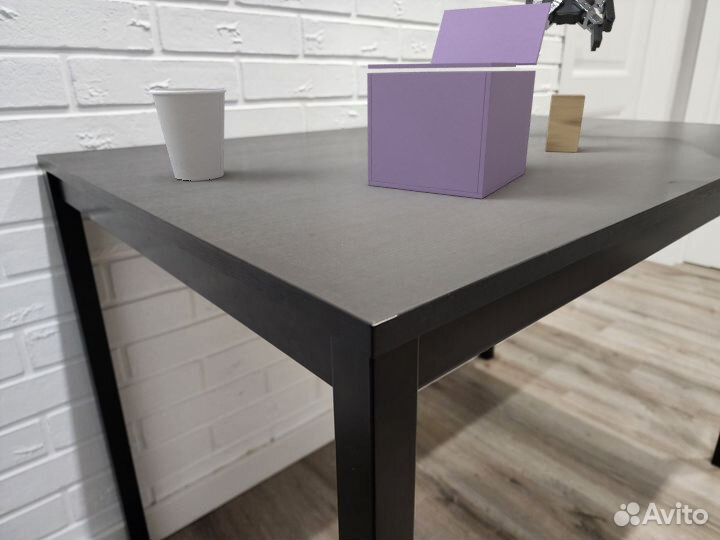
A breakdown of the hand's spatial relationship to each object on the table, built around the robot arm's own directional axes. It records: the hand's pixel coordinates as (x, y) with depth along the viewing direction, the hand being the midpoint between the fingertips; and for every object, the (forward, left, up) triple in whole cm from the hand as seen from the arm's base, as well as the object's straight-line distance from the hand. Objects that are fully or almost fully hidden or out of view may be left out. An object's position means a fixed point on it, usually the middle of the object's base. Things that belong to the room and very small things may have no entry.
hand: (566, 47), depth 83 cm
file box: (+39, -3, -15) cm, 42 cm away
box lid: (+30, -3, +1) cm, 30 cm away
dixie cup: (+52, -30, -15) cm, 62 cm away
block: (+10, +3, -15) cm, 18 cm away
